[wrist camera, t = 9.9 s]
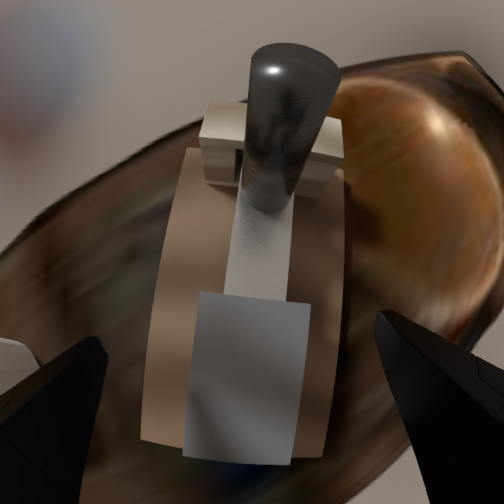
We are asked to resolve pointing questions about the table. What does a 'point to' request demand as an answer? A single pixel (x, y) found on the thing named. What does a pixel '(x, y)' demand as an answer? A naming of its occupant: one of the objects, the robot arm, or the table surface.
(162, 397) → the base
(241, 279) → the dark knobbed lever handle
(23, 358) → the shot glass
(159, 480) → the table surface
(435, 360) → the robot arm
